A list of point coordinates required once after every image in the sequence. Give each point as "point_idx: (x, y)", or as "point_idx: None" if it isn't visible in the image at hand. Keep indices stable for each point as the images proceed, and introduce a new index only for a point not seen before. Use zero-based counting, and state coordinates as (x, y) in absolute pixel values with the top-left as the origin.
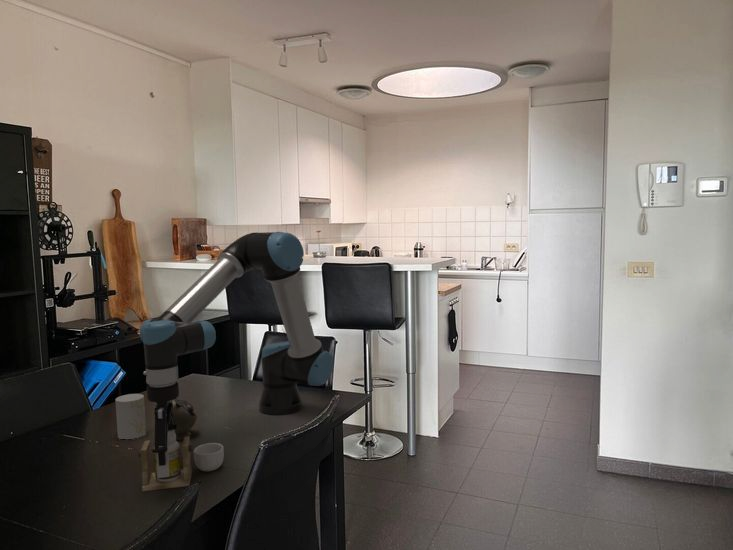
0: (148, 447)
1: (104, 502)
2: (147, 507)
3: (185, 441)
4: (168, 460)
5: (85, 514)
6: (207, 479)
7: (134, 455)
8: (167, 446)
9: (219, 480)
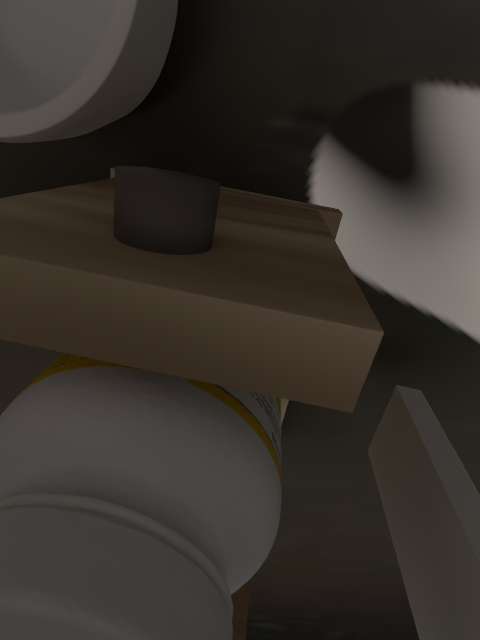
0: None
1: (304, 549)
2: (474, 435)
3: (132, 333)
4: (475, 503)
5: (371, 595)
6: (299, 55)
7: None
8: (233, 558)
9: None
